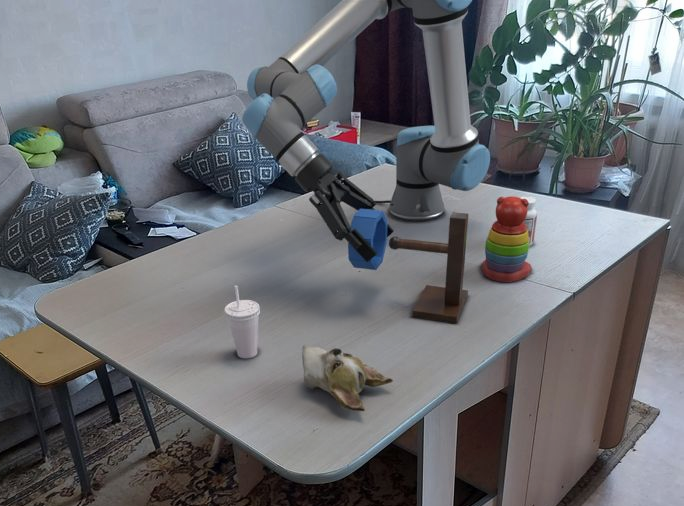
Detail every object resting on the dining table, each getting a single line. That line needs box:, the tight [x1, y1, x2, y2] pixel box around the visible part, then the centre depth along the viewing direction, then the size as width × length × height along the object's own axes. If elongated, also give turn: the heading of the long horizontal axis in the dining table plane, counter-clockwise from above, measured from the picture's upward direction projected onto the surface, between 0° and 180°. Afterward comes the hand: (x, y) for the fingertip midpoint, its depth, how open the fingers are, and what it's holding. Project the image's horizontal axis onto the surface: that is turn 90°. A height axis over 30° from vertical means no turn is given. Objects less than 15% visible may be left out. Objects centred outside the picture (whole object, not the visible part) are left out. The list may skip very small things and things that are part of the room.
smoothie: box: [224, 285, 261, 359], centre depth 117 cm, size 6×6×14 cm
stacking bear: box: [481, 196, 532, 283], centre depth 142 cm, size 11×10×18 cm
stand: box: [388, 211, 469, 324], centre depth 130 cm, size 16×12×20 cm
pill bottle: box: [519, 196, 538, 247], centre depth 158 cm, size 6×6×11 cm
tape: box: [347, 209, 388, 271], centre depth 132 cm, size 5×11×11 cm, turn 160°
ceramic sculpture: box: [301, 344, 394, 412], centre depth 107 cm, size 11×9×15 cm
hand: (381, 246), depth 132 cm, fingers closed on tape, 11 cm apart
